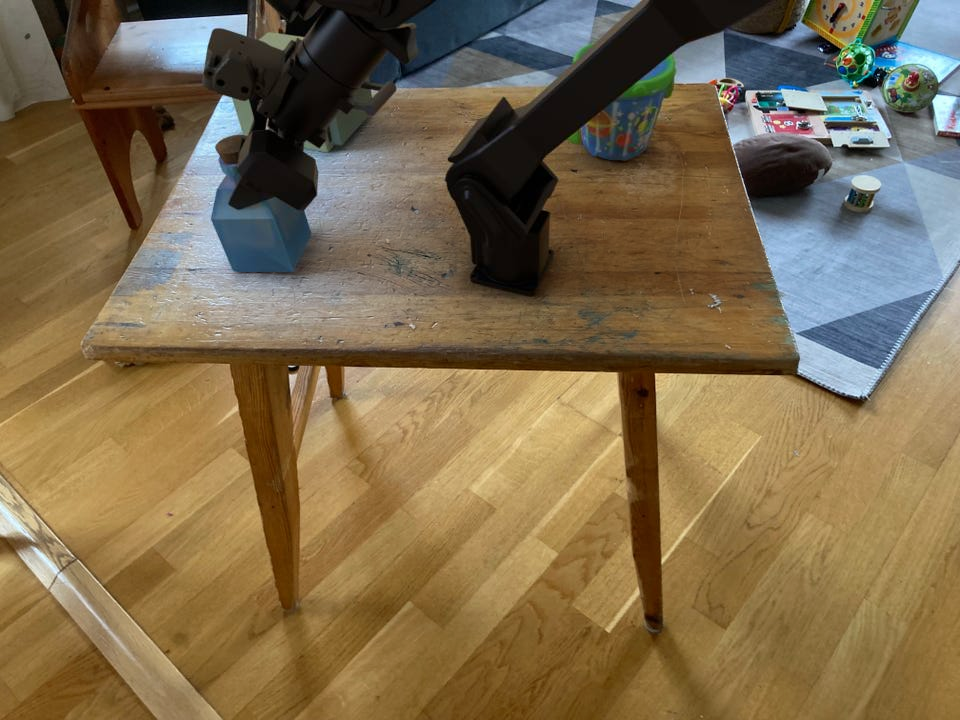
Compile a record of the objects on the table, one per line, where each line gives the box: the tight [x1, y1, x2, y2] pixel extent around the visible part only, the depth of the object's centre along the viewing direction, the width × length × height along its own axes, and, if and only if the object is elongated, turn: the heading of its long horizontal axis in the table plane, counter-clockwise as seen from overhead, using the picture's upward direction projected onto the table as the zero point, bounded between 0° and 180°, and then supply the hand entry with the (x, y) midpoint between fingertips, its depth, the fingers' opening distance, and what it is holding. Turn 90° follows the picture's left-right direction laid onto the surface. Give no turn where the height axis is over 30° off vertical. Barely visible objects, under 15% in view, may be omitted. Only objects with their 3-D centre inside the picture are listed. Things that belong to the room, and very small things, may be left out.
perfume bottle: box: [210, 134, 312, 273], centre depth 70 cm, size 6×6×12 cm
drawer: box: [327, 75, 397, 146], centre depth 86 cm, size 15×8×7 cm, turn 69°
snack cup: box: [566, 41, 677, 162], centre depth 81 cm, size 16×10×10 cm
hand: (236, 188), depth 69 cm, fingers open, 5 cm apart
